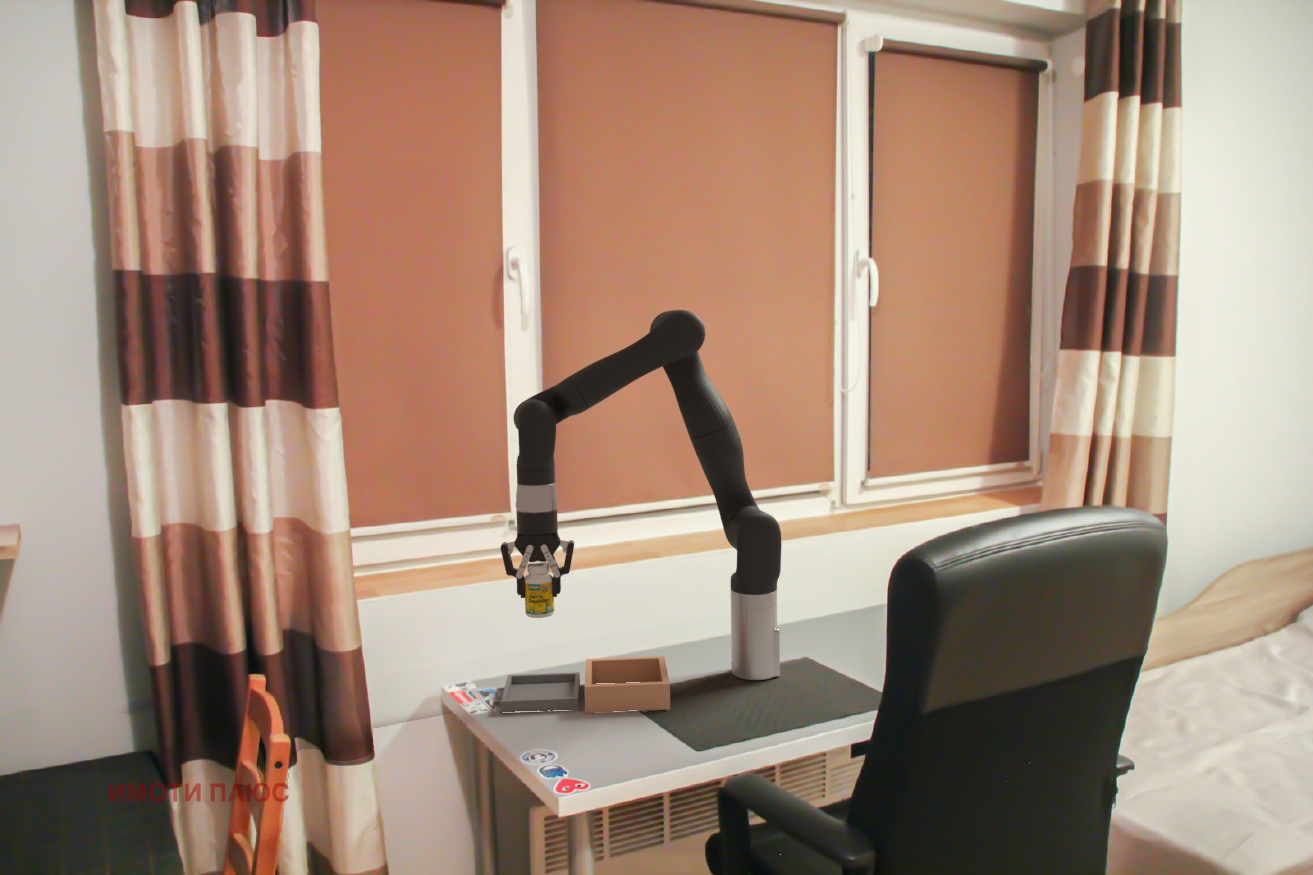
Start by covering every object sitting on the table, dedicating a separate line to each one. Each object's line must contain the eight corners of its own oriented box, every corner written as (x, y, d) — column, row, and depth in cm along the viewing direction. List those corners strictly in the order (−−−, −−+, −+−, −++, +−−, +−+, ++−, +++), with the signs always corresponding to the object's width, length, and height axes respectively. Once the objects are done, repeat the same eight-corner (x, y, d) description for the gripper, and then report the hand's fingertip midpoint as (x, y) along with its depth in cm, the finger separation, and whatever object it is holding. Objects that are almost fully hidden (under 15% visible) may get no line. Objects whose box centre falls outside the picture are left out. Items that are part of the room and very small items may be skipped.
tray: (580, 683, 188) (579, 672, 188) (578, 710, 174) (578, 698, 174) (508, 686, 188) (508, 675, 187) (501, 713, 174) (500, 701, 173)
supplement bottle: (553, 609, 182) (552, 560, 181) (554, 617, 177) (553, 566, 176) (525, 611, 182) (523, 561, 181) (525, 619, 176) (523, 568, 175)
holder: (664, 680, 189) (664, 656, 188) (670, 710, 174) (669, 683, 173) (586, 683, 188) (585, 659, 188) (585, 713, 173) (584, 687, 172)
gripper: (576, 503, 181) (577, 590, 183) (499, 504, 181) (502, 592, 182) (575, 509, 174) (577, 600, 176) (495, 511, 173) (498, 603, 175)
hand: (539, 596), depth 179 cm, fingers closed on supplement bottle, 5 cm apart
